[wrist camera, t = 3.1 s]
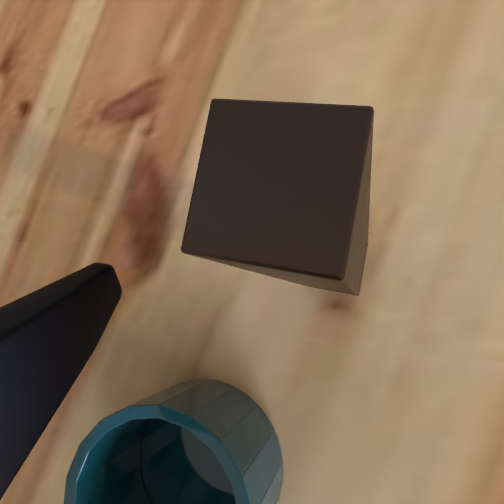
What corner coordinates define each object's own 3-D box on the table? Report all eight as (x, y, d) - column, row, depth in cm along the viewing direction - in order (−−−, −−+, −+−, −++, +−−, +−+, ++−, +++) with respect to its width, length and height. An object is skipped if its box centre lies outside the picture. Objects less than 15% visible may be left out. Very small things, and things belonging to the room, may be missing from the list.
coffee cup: (294, 549, 17) (266, 647, 12) (141, 542, 19) (65, 624, 14) (273, 373, 18) (240, 399, 13) (131, 384, 20) (58, 409, 15)
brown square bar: (358, 295, 17) (343, 282, 5) (306, 285, 18) (178, 252, 6) (367, 243, 18) (374, 104, 5) (315, 235, 18) (210, 96, 6)
